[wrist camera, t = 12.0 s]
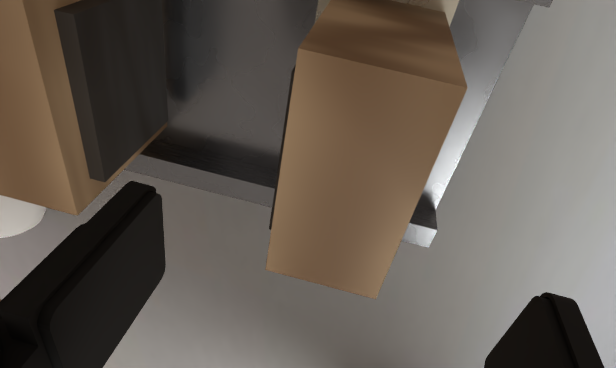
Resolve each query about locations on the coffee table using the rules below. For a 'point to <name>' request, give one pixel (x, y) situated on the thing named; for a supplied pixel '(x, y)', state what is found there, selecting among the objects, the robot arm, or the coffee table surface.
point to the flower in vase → (18, 216)
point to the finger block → (360, 139)
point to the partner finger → (77, 95)
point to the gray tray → (275, 88)
